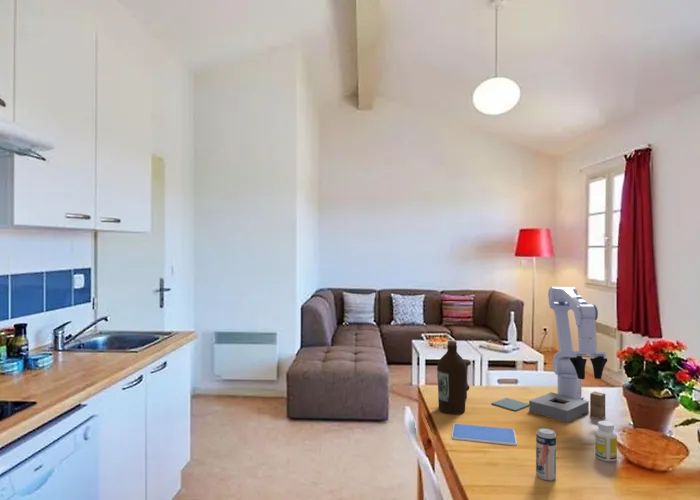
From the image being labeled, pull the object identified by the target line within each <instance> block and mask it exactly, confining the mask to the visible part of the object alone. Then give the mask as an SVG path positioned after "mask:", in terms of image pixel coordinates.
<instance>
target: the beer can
mask: <svg viewBox="0 0 700 500" xmlns="http://www.w3.org/2000/svg"><path fill="white" fill-rule="evenodd" d="M535 433H536V434H535V435H536V436H535V438H536V439H535V443H536V444H535V445H536V447H535V458H536V459H535V474H536V476H537V477H538V478H539V479H541V480H543V481H547V482H548V481H553V480H556V478H557V434H556V432H555V430H553V429H552V428H548V427H541V428H538V429H537V431H536V432H535Z"/></svg>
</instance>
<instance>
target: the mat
mask: <svg viewBox="0 0 700 500" xmlns="http://www.w3.org/2000/svg"><path fill="white" fill-rule="evenodd" d="M491 405H493V406H496V407H500V408H501V409H502V408H503V409H506V410H510V411H514V412H518V411H521V410H523V409H525V408H527V407H529V403H527V402H523V401H520V400H516V399H512V398H509V397H505V398H501V399H499V400H497V401H493V402H491Z"/></svg>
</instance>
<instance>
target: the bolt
mask: <svg viewBox="0 0 700 500" xmlns="http://www.w3.org/2000/svg"><path fill="white" fill-rule="evenodd" d="M462 359H463V360H464V361H465V363H466V366H467V367H468V366H470V365H472V364H471V361H470V360H469V359H465V358H462ZM469 390H470V385H469V384H468V378H467V379H466V397H465V400H467V398H468V391H469Z"/></svg>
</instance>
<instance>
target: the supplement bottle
mask: <svg viewBox="0 0 700 500" xmlns="http://www.w3.org/2000/svg"><path fill="white" fill-rule="evenodd" d="M614 429H615V424H614V423H613V422H612V421H611V422H610V421H607V420H599V421H598V422H597V429H596V430H595V433H594V451H595V452H594V455H595V457H596V459H598V460H601V461H603V462H615V461H617V459H618V454H617V453H618V451H617V450H618V449H617V448H618V442H617V441H618V440H617V439H618V435H617V432H616V431H615V430H614Z"/></svg>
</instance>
